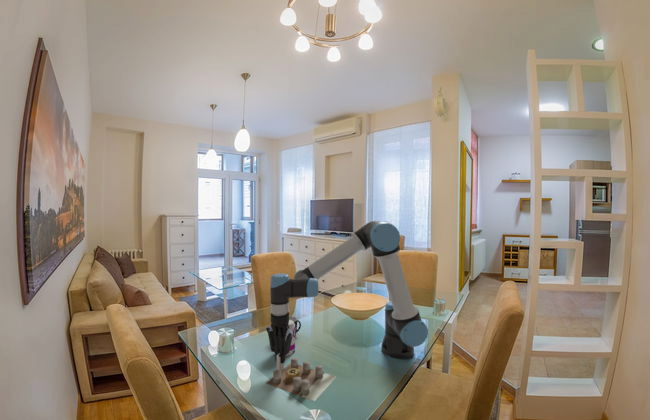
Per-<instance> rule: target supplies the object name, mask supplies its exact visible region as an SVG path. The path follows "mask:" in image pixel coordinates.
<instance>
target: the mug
mask: <svg viewBox="0 0 650 420" xmlns="http://www.w3.org/2000/svg"><path fill="white" fill-rule="evenodd" d="M289 319H290V320H293V321H294V323H295V338H296V337H297V333H298V332H299V331H300V330H301V328H302V322H301V321H300V320H299V319H298V317H296V316H292V315H289ZM298 323H299V326H298Z"/></svg>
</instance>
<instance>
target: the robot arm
mask: <svg viewBox="0 0 650 420" xmlns="http://www.w3.org/2000/svg"><path fill="white" fill-rule="evenodd" d="M400 243H401V234H400V231H399V230H398V228H397V227H396V226H395V225H394V224H393V223H391V222H388V221H381V220H371V221H369V222H368V223H366V224H364V225H363V226H362V227H360V228H358V229H357V230H356V231H354V232H353V233H352V236H351V237H349V238H348V239H346V240H345V241H344V242H342V243H340V244H339V245H338V246H336V247H335V248H334V249H332V250H331V251H329V252H327V253H326V254H324V255H323V256H322V257H319V258H318V259H317V260H316V261H314V262H313V263H311V264H310V265H308V266H307V267H305V268H304V269H299V270H297V272H295V274H294V277H293V278H290V275H289V274H287V273H281V272H280V273H274V274H273V275H271V277H270V285H269V287H270V288H269V289H270V290H269V291H270V292H269V293H270V325H269V326H267V327H266V328H265V330H266V332H267V336H268V341H269V347H270V351H271V352H272V353H274V357H275V358H274V359H275V362H276V370H280V371H282V370H283V369H284V368H285V367H284V366H285V362H286V356H285V355H287V354H288V353H289V351H290V346H291V341H292V336H293V335H294V331H291V330H290V329H289V325H288V323H289V316H290V298H291V299H293V298H295V299H297V298H316V297H318V295H319V289H320V288H319V280H320V279H321V278H322V277H324V276H325V275H327V274H328V273H330V272H332V271H333V270H334V269H336V268H338V267H339V266H340V265H342V264H343V263H345V262H347V261H348V260H349V259H350V258H352V257H354V256H355V255H356V254H358V253H359V252H361V251H366V250H369V248H371V251H372V255H373V257H375V258H376V259H377V260H378V262H379V266H380V270H381V272H382V275H383V279H384V282H385V286H386V288H387V292H388V296H389V298H390V302H386V304H385V307H384V330H385V331H384V336H383V339H382V341H381V352H382V353H383V354H384V355H385V356H387V357H390V358H393V359H398V360H399V359H400V360H402V359H403V360H404V359H409V358H412V357H413V356H414V354H415V348H416V347H420V346H421V345H423V344H424V343H425V342H426V340H427V338H428V336H429V328H428V326H427V325H426V323H425V322H424V321H423V320H422V317H421V315H420V310H419V307H416V306H415V305H414V304H413V303H414V302H413V300H412V296H411V292H410V289H409V286H408V284H407V283H408V282H407V279H406V276H405V273H404V270H403V266H402V262H401V260H400V256H399V254H400V251H401V247H400ZM286 333H287V338H286Z"/></svg>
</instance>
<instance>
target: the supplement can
mask: <svg viewBox="0 0 650 420" xmlns="http://www.w3.org/2000/svg"><path fill="white" fill-rule="evenodd" d="M288 325H289V329H290V330H291V331H294V335H293V336H292V341H291V346H290V351H289V353H288V354H287V355H285V357H287V356H288V357H289V356H293V355H294V354H295V352H296V337H295V323H294V321H293V320H290V319H289V323H288ZM286 338H287V333H286Z"/></svg>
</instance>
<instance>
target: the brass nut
mask: <svg viewBox="0 0 650 420" xmlns="http://www.w3.org/2000/svg"><path fill="white" fill-rule="evenodd" d="M295 377H299V371H298V369H297V368H290V369H289V370H288V371H286V378H287V379H288V380H289V381H293V379H294V378H295Z"/></svg>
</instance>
